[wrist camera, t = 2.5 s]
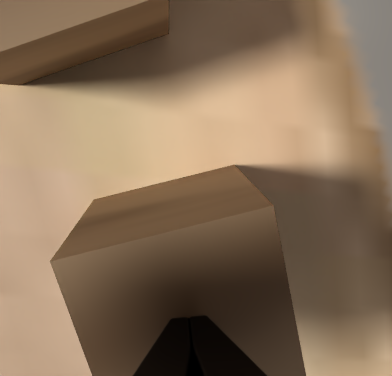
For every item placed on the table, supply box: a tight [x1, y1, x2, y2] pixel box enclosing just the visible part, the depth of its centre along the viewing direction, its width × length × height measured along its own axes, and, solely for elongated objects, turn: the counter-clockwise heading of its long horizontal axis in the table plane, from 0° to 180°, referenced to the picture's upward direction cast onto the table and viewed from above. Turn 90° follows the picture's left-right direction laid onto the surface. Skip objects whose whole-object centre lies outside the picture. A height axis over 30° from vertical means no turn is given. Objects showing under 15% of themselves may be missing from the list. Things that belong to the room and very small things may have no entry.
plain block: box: [50, 165, 306, 376], centre depth 11 cm, size 5×5×5 cm
